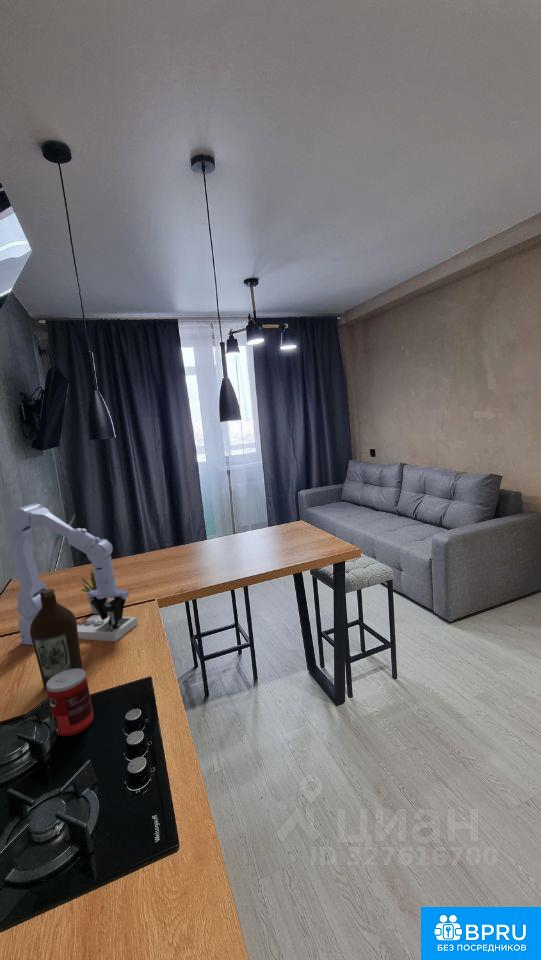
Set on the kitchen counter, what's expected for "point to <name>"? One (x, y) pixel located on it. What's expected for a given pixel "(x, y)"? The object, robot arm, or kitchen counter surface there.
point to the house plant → (90, 590)
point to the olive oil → (55, 638)
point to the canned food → (70, 701)
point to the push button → (110, 615)
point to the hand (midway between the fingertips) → (112, 618)
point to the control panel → (104, 628)
